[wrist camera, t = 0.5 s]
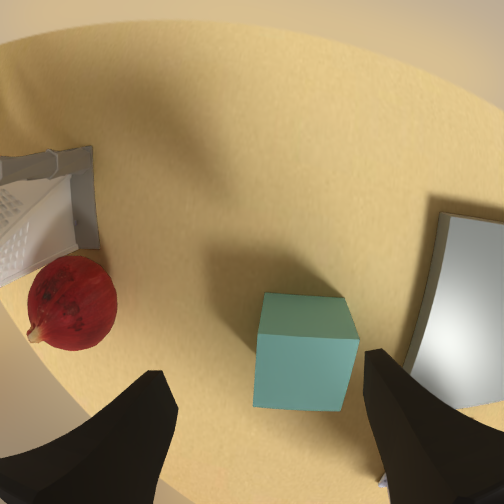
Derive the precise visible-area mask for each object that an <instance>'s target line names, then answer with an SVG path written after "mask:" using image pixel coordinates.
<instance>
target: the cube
mask: <svg viewBox="0 0 504 504" xmlns="http://www.w3.org/2000/svg"><path fill="white" fill-rule="evenodd" d="M359 341H360V339H359V336H358V333H357V330H356V327H355V325H354V322H353V319H352V316H351V314H350V311H349V308H348V306H347V303H346V300H345V298H337V297H321V296H306V295H292V294H279V293H266V292H265V294H264V300H263V306H262V312H261V318H260V323H259V329H258V336H257V352H256V366H255V381H254V395H253V407H261V408H272V409H286V410H305V411H341V407H342V404H343V401H344V397H345V394H346V391H347V387H348V384H349V380H350V376H351V373H352V369H353V365H354V361H355V357H356V353H357V349H358V345H359Z"/></svg>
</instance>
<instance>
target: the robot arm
mask: <svg viewBox="0 0 504 504" xmlns="http://www.w3.org/2000/svg"><path fill="white" fill-rule="evenodd" d="M363 396H364V401H365V406H366V411H367V415H368V419H369V422H370V425H371V428H372V431H373V434H374V437H375V440H376V443H377V447H378V450H379V453H380V456H381V459H382V462H383V465H384V469H385V474H384V475H383V477H382V478H381V480H380V481H379V483H378V486H379V487H387V491H388V496H389V501H390V504H504V432H503V431H500V430H497V429H494V428H492V427H489V426H487V425H484V424H482V423H480V422H478V421H476V420H474V419H472V418H470V417H468V416H466V415H464V414H462V413H461V412H459V411H457V410H456V409H454V408H452V407H451V406H449V405H447V404H446V403H444V402H443V401H442V400H440V399H439V398H437V397H436V396H435V395H433V394H432V393H431V392H430V391H428V390H427V389H426V388H425V387H423V386H422V385H421V384H420V383H419V382H417V381H416V380H415V379H414V378H413V377H412V376H411V375H409V374H408V373H407V372H406V371H405V370H404V369H403V368H402V367H401V366H400V365H399V364H398V363H397V362H396V361H395V360H394V359H393V358H392V357H391V356H390V355H389V354H388V353H387V352H385V351H384V350H383V349H382V348H381V349H376V350H371V351H365V363H364V386H363ZM178 409H179V408H178V406H177V404H176V402H175V399H174V397H173V395H172V393H171V390H170V388H169V386H168V383H167V381H166V378H165V376H164V374H163V371H162V370H148V371H147V372H145V373H144V374H143V375H142V376H140V377H139V378H138V379H137V380H136V381H135V382H133V383H132V384H131V385H130V386H129V387H128V388H127V389H126V390H124V391H123V392H122V393H121V394H120V395H119V396H117V397H116V398H115V399H114V400H113V401H112V402H111V403H109V404H108V405H107V406H106V407H104V408H103V409H102V410H100V411H99V412H98V413H97V414H95V415H94V416H93V417H92V418H90V419H89V420H88V421H86V422H85V423H83V424H82V425H80V426H78V427H77V428H75V429H74V430H72V431H70V432H69V433H67V434H65V435H63V436H61V437H59V438H57V439H55V440H53V441H51V442H50V443H47V444H45V445H43V446H40V447H38V448H35V449H32V450H30V451H27V452H24V453H21V454H17V455H13V456H9V457H5V458H0V498H1V499H2V500H3V501H4V502H6V503H7V504H153V500H154V495H155V490H156V485H157V482H158V478H159V475H160V472H161V469H162V466H163V464H164V461H165V458H166V455H167V452H168V449H169V446H170V443H171V440H172V437H173V434H174V431H175V426H176V421H177V415H178Z"/></svg>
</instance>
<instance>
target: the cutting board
mask: <svg viewBox="0 0 504 504" xmlns="http://www.w3.org/2000/svg"><path fill="white" fill-rule="evenodd" d="M403 369H404V370H405V371H406V372H407V373H408V374H409V375H411V376H412V377H413V378H414V379H415V380H416V381H417V382H419V383H420V384H421V385H422V386H423V387H425V388H426V389H427V390H428V391H430V392H431V393H432V394H433V395H435V396H436V397H437V398H439V399H440V400H442V401H443V402H444V403H446V404H447V405H449V406H451V407H452V408H454V409H461V408H467V407H473V406H479V405H484V404H489V403H494V402H499V401H504V222H500V221H494V220H488V219H482V218H476V217H470V216H464V215H457V214H451V213H444V212H440V215H439V222H438V228H437V234H436V240H435V246H434V251H433V257H432V262H431V266H430V271H429V276H428V280H427V285H426V289H425V293H424V297H423V301H422V305H421V309H420V313H419V316H418V320H417V324H416V327H415V330H414V334H413V337H412V340H411V344H410V347H409V350H408V353H407V356H406V359H405V362H404V365H403Z"/></svg>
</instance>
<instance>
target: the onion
mask: <svg viewBox="0 0 504 504" xmlns="http://www.w3.org/2000/svg"><path fill="white" fill-rule="evenodd" d="M27 305H28V316H29V320H30V323H31V327H30V329H29V330H28V331H27V336H28V339H29V341H30V343H39V342H41V341H45V342H46V343H48V344H49V345H51V346H53V347H55V348H59V349H63V350H68V351H79V350H83V349H88V348H91V347H93V346H96V345H97V344H98V343H99V342H100V341H102V340H103V338H104V337H105V336H106V335H107V334H108V333H109V332H110V330H111V328H112V326H113V324H114V321H115V317H116V313H117V294H116V290H115V288H114V285H113V283H112V280H111V278H110V277H109V275H108V274H107V273H106V272H105V270H104V269H103V268H102V267H101V265H99V264H97V263H95V262H94V261H92V260H90V259H88V258H86V257H83V256H63V257H58V258H57V259H55V260H54V261H52V262H51V263H49V264H48V265H47V266H45V267H44V268H42V269H41V270H40V272H39V273H38V274H37V275H36V277H35V279H34V281H33V284H32V286H31V288H30V291H29V294H28V304H27Z"/></svg>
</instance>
